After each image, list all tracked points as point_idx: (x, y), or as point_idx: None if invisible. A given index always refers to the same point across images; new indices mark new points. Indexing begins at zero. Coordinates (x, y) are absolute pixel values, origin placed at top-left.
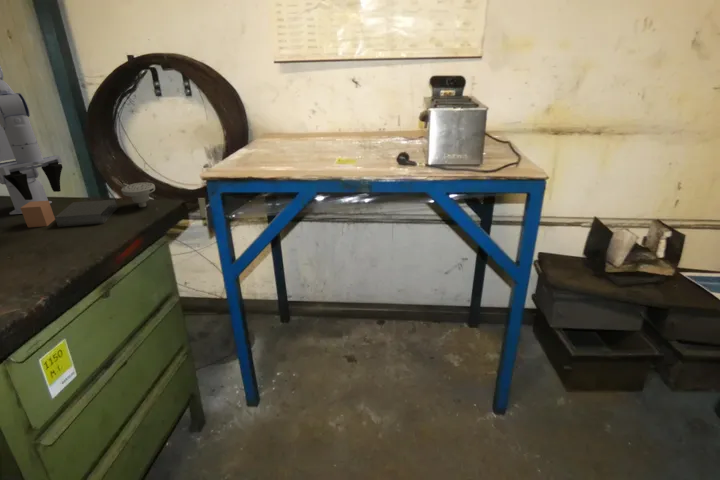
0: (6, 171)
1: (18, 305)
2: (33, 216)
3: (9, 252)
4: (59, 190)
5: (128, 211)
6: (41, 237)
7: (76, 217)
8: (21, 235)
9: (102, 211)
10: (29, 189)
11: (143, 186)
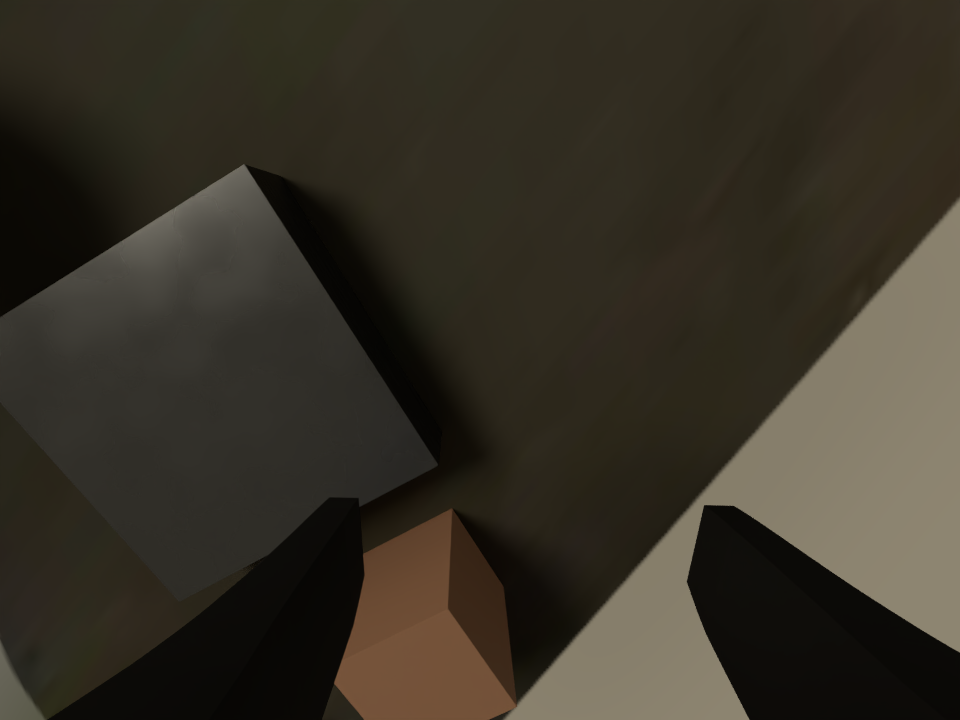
0: None
1: None
2: (481, 600)
3: (801, 361)
4: (339, 501)
5: (19, 192)
6: (594, 382)
7: (362, 338)
8: (600, 516)
9: (199, 199)
10: (807, 591)
11: None
